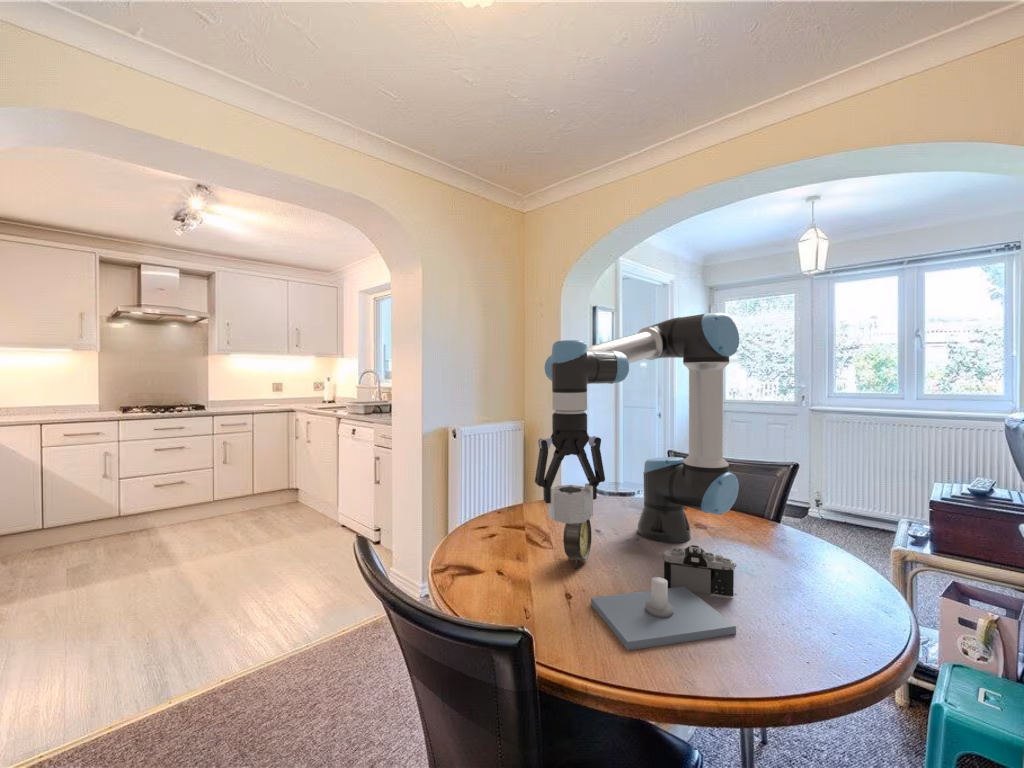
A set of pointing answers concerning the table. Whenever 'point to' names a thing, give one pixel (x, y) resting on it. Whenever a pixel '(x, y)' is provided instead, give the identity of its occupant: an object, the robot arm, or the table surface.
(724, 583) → the camera
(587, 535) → the alarm clock
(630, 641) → the shaft block
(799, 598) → the table surface
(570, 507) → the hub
